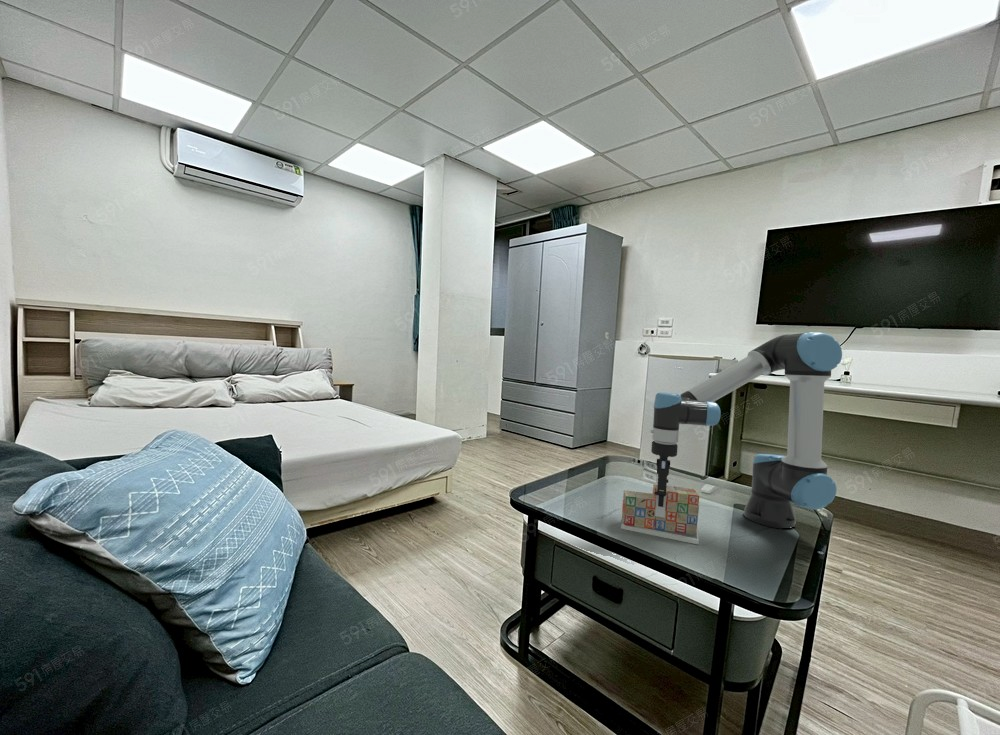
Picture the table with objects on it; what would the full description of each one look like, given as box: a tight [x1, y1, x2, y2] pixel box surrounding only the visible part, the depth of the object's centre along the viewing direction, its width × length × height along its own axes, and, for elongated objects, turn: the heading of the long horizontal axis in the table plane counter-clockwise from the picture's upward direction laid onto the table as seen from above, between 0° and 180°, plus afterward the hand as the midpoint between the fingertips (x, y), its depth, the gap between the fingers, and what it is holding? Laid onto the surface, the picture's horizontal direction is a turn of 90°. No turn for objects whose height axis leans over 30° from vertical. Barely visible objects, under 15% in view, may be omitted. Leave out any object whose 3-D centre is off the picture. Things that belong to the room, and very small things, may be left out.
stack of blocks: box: [621, 484, 700, 535], centre depth 127 cm, size 21×6×12 cm, turn 78°
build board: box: [620, 519, 700, 545], centre depth 127 cm, size 22×10×1 cm, turn 67°
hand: (660, 509), depth 127 cm, fingers open, 13 cm apart
